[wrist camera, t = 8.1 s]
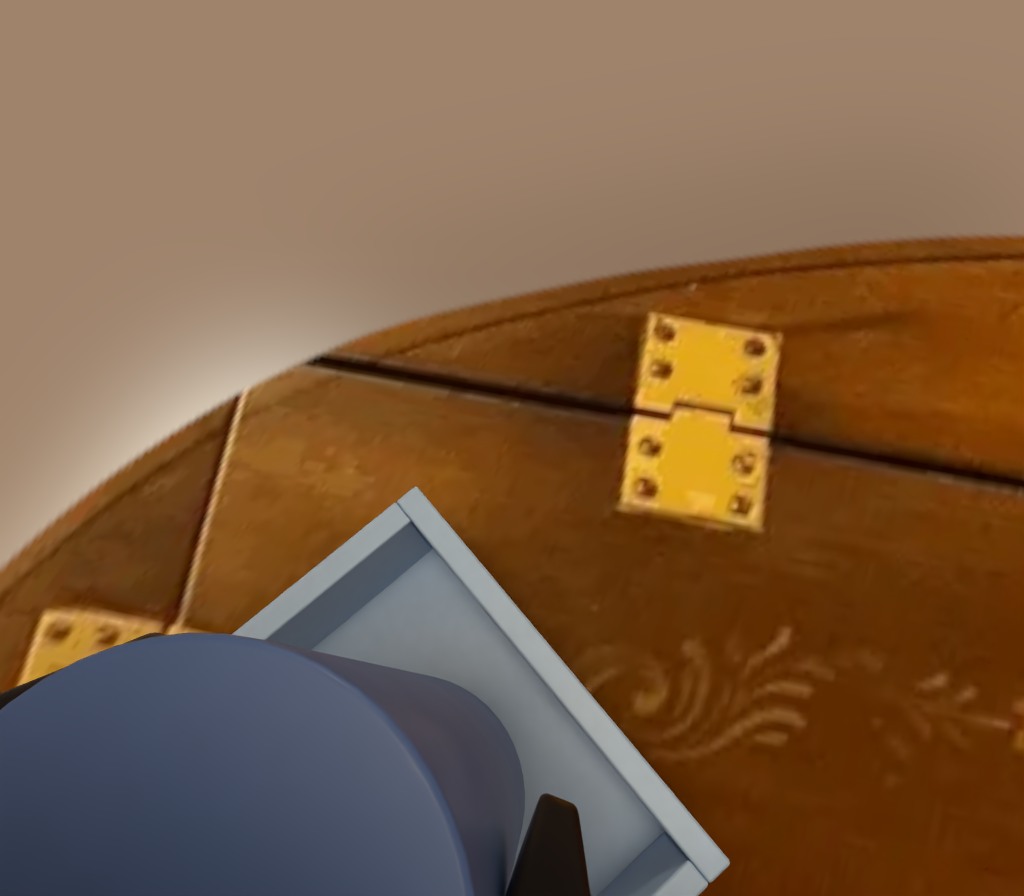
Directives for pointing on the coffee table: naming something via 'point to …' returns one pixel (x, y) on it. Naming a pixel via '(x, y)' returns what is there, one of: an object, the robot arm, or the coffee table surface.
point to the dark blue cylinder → (253, 777)
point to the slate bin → (497, 689)
